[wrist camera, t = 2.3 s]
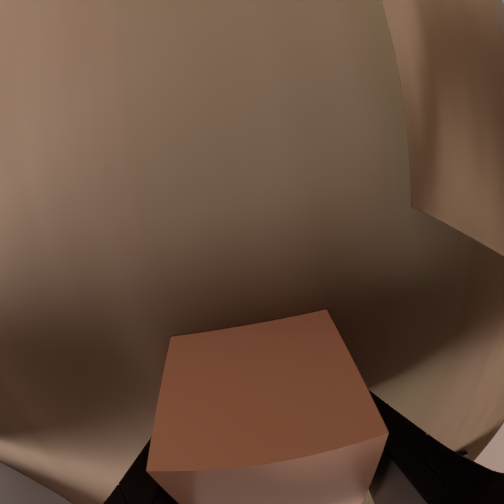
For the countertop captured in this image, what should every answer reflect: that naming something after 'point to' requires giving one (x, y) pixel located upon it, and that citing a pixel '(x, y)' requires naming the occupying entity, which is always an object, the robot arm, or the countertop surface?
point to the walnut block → (454, 110)
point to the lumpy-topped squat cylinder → (24, 489)
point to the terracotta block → (265, 417)
